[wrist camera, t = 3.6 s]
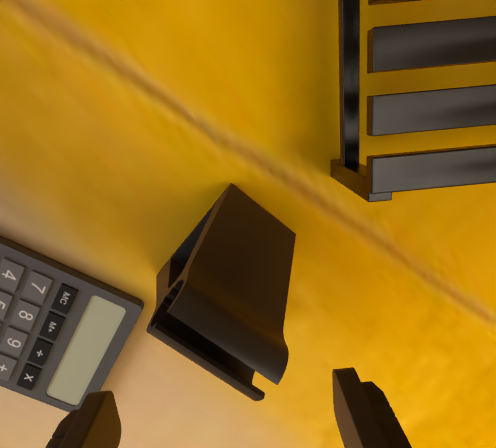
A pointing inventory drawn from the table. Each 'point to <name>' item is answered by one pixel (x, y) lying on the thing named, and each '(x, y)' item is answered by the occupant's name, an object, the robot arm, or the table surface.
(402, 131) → the rack
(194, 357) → the phone stand
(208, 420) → the table surface
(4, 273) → the calculator
